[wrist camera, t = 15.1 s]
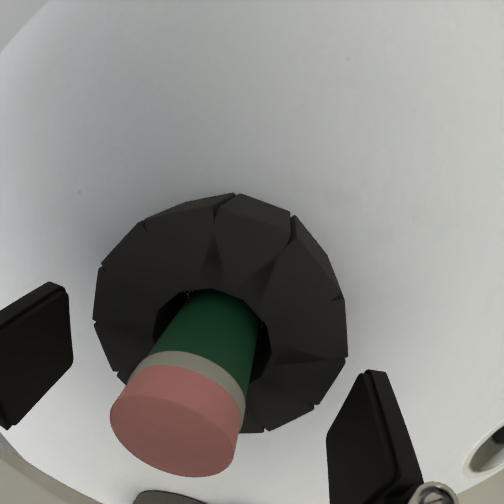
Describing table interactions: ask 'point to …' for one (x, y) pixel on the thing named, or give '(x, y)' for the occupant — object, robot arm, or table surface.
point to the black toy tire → (235, 284)
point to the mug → (162, 498)
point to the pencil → (191, 388)
